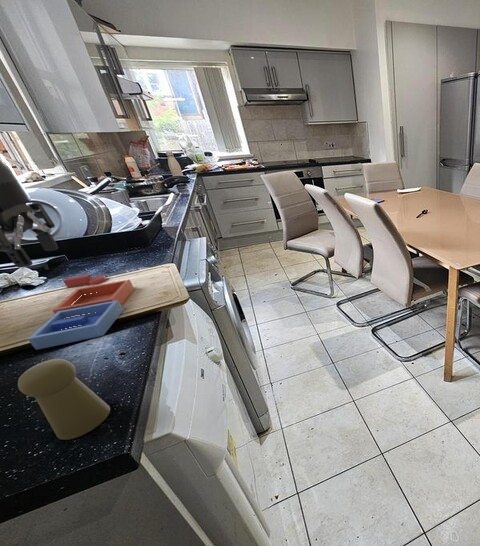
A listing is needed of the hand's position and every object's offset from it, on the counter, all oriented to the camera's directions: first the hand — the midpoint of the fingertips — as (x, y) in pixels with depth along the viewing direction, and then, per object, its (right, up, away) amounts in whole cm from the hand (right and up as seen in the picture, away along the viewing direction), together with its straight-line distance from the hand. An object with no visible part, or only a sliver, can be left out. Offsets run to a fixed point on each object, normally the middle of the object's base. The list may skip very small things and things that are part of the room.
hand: (39, 257), depth 68 cm
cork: (+31, -26, -21) cm, 45 cm away
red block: (-8, -6, +18) cm, 21 cm away
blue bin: (+10, -15, 0) cm, 18 cm away
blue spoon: (+9, -15, 0) cm, 18 cm away
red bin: (+4, -11, +9) cm, 14 cm away
